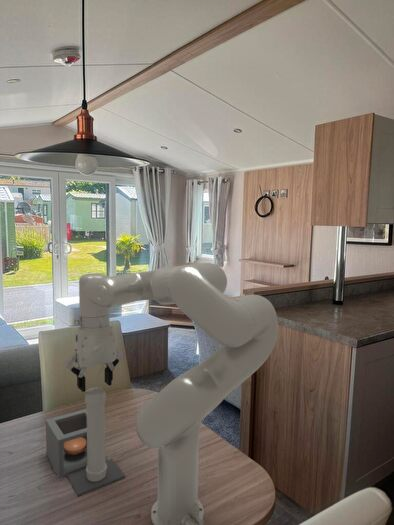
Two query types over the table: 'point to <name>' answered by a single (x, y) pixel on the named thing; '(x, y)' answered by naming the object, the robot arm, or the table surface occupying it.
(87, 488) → the mat
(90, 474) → the grey cylindrical piece
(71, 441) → the button
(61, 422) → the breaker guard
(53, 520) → the table surface
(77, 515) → the table surface
